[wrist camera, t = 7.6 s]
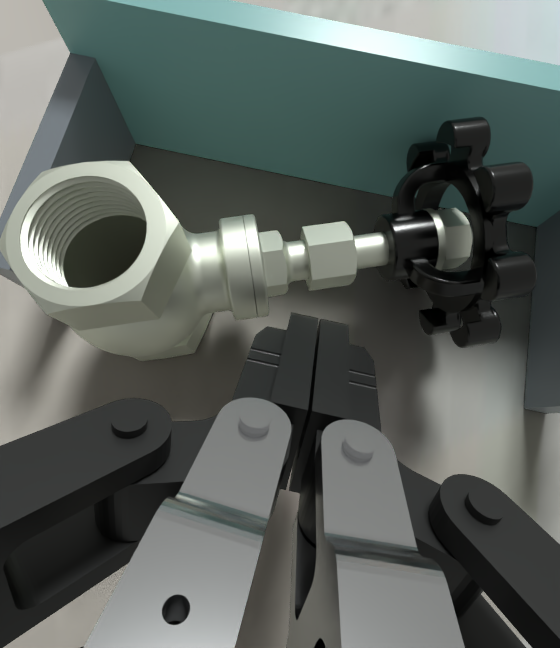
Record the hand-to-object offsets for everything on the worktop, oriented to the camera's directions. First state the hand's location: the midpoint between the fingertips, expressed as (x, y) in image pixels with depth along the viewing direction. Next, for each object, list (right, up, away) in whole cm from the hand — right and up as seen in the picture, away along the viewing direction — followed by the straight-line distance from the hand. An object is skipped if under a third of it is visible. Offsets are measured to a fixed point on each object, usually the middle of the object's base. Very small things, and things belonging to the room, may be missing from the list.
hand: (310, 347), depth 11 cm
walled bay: (+1, +3, +5) cm, 6 cm away
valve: (-1, +2, +5) cm, 5 cm away
